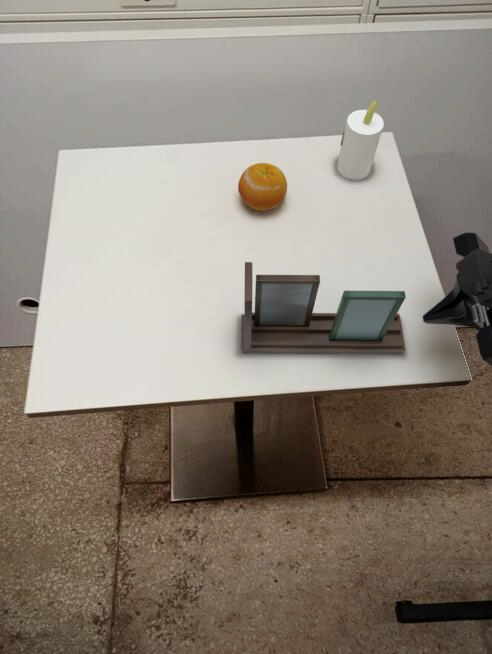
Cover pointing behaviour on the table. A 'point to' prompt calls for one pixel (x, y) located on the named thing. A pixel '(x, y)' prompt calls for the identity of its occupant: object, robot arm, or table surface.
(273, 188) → the fruit
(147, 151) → the table surface
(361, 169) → the candle
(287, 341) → the frame display rack
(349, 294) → the sash
